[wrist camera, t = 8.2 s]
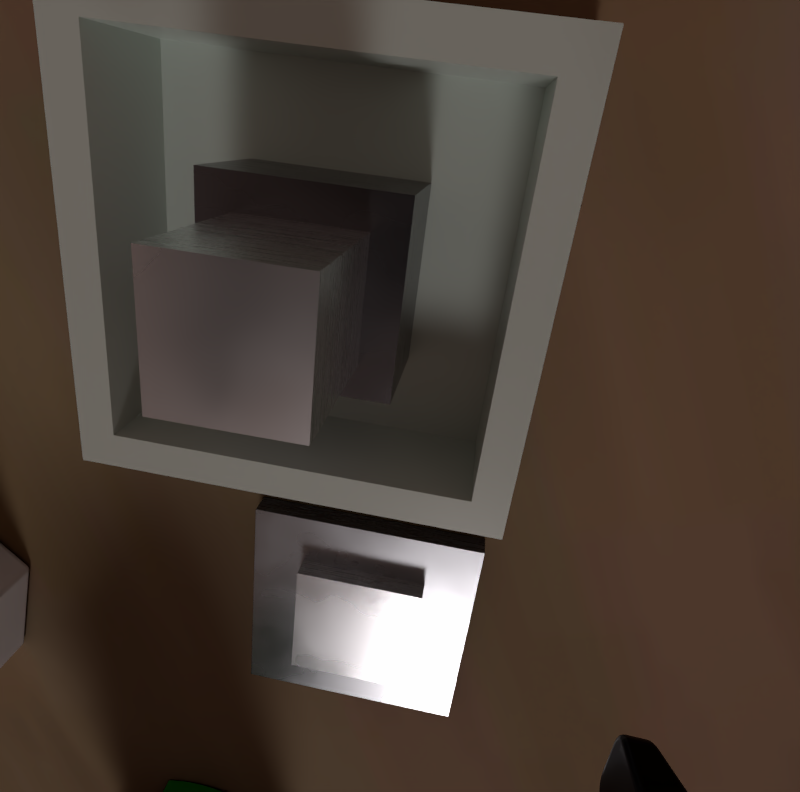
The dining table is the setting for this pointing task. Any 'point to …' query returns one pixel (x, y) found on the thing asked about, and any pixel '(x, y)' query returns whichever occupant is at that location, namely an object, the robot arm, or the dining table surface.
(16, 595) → the jar
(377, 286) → the grey square peg
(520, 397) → the bin
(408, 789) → the dining table surface
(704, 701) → the dining table surface
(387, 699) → the base
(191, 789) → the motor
